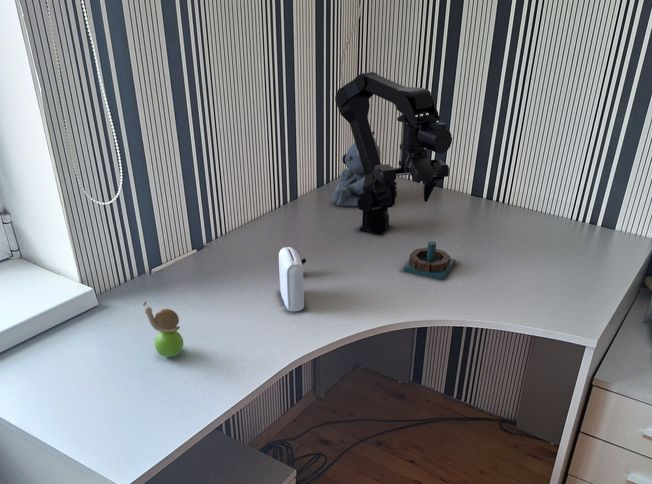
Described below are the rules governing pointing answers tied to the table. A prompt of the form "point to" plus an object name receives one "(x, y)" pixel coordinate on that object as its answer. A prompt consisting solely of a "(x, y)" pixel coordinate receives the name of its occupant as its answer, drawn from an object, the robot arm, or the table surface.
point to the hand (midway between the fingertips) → (409, 203)
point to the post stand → (430, 258)
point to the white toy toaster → (291, 279)
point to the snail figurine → (165, 331)
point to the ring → (429, 266)
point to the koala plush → (351, 179)
